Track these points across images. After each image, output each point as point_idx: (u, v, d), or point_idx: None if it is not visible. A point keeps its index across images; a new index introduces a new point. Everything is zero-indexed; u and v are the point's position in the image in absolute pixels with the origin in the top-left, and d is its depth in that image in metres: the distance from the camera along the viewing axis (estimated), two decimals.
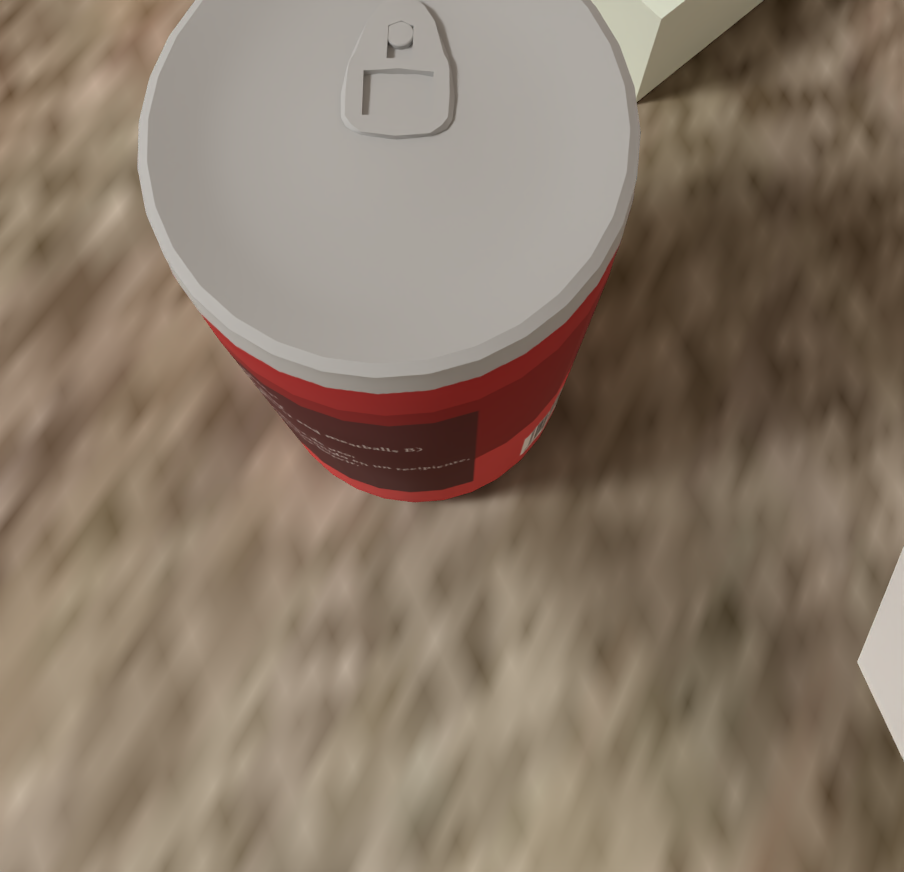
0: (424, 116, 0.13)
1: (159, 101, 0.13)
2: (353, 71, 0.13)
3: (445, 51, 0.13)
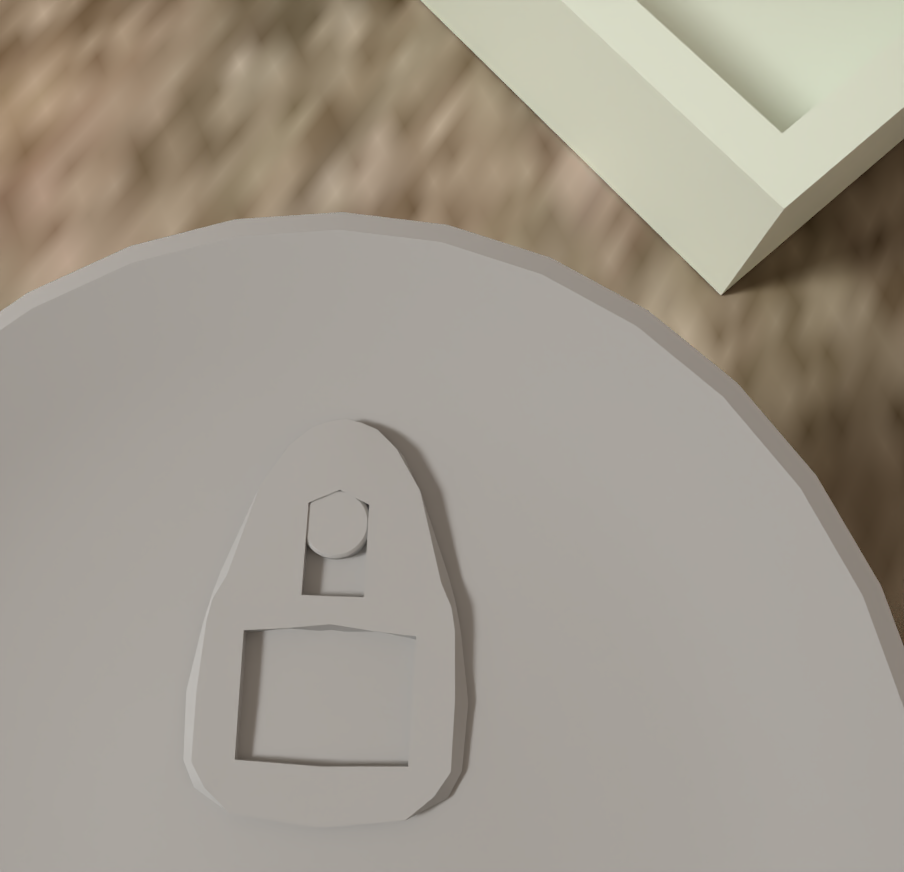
0: (390, 769, 0.05)
1: None
2: (222, 620, 0.05)
3: (445, 572, 0.05)
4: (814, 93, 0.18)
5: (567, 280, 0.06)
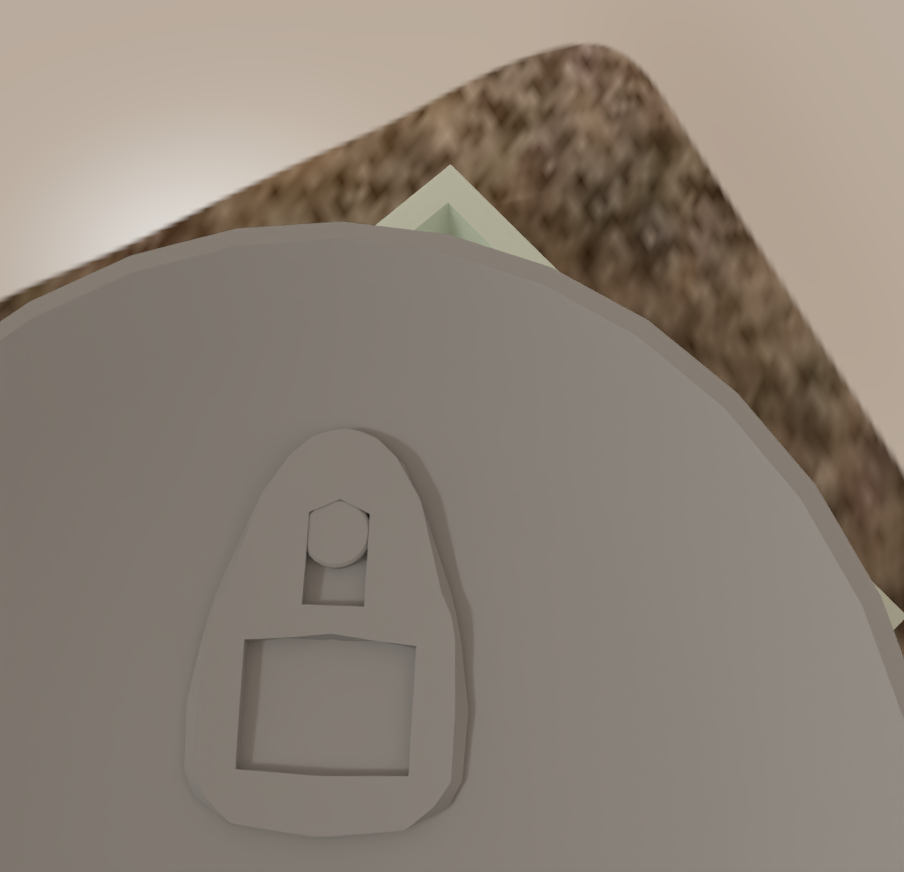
0: (390, 778, 0.05)
1: None
2: (224, 629, 0.05)
3: (447, 581, 0.05)
4: None
5: (567, 290, 0.06)
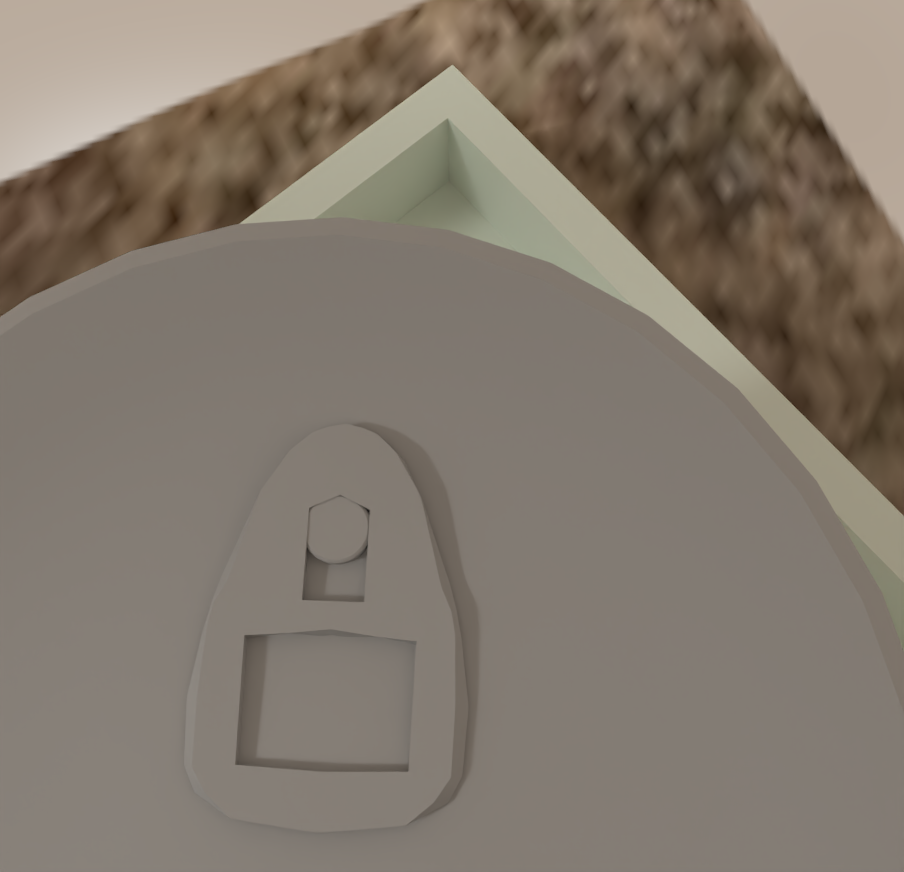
0: (390, 774, 0.05)
1: None
2: (223, 625, 0.05)
3: (447, 577, 0.05)
4: None
5: (567, 286, 0.06)
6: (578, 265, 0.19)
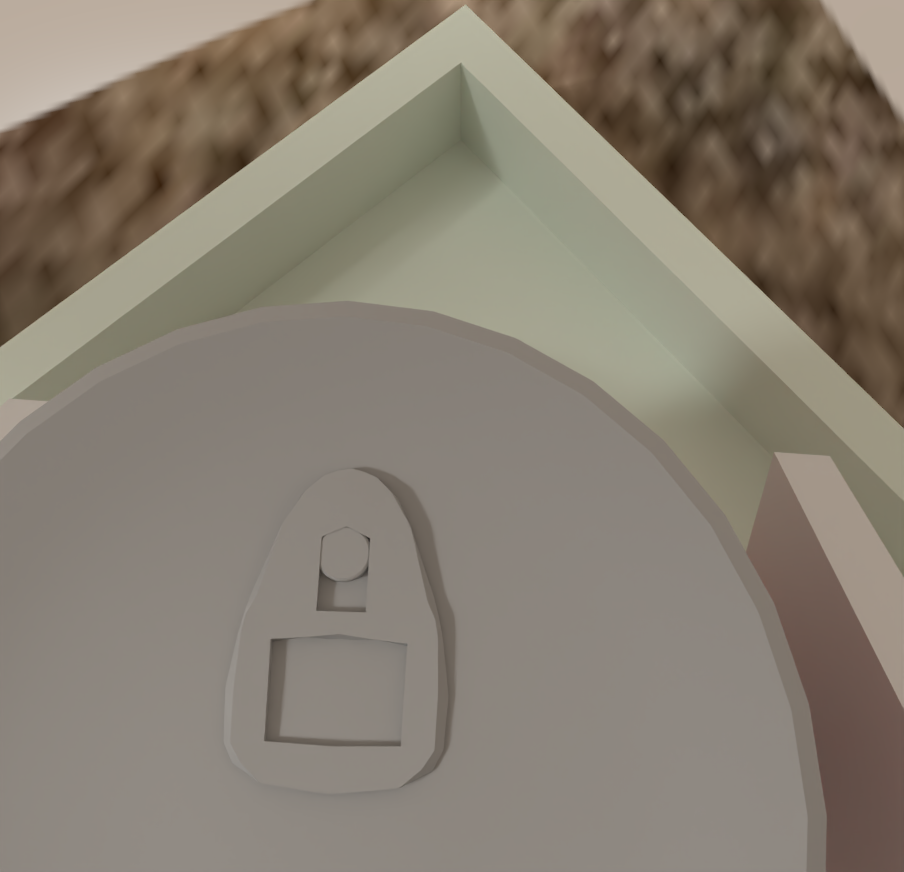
0: (386, 748, 0.07)
1: None
2: (254, 630, 0.07)
3: (432, 592, 0.07)
4: None
5: (529, 358, 0.07)
6: (607, 226, 0.17)
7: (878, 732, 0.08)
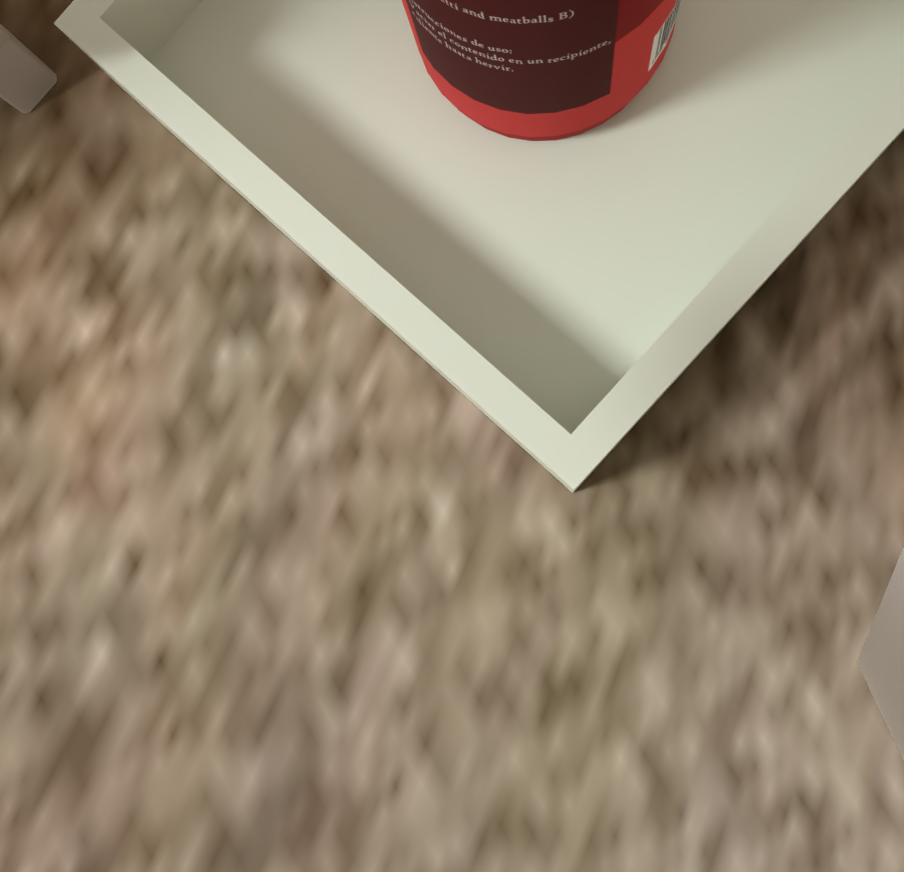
0: None
1: None
2: None
3: None
4: (625, 338, 0.24)
5: None
6: None
7: None
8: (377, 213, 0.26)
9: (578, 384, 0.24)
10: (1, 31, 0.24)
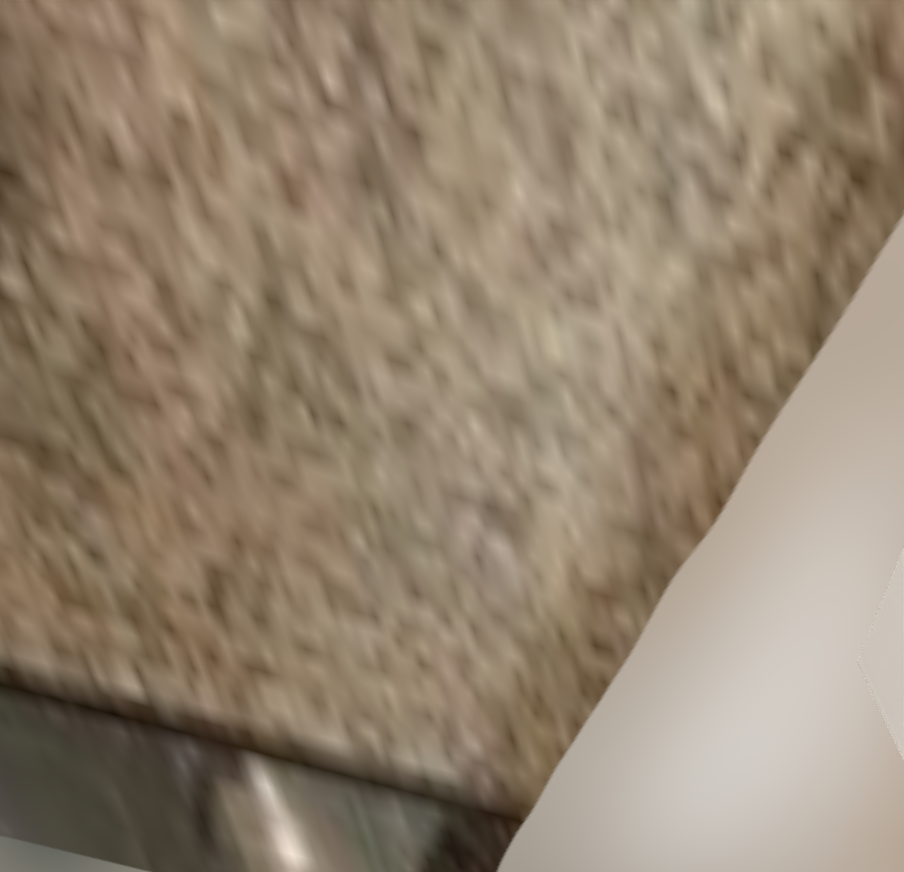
0: None
1: None
2: None
3: None
4: None
5: None
6: None
7: None
8: None
9: None
10: None
